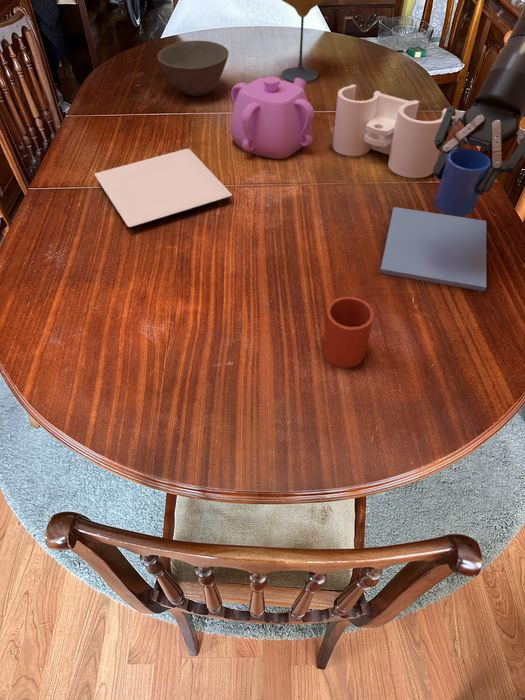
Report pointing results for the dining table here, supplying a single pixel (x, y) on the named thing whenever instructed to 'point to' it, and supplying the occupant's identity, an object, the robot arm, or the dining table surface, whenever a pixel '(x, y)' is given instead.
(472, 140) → the robot arm
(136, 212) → the plate
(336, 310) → the terracotta cup
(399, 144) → the bracket
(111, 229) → the dining table surface
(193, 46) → the bowl
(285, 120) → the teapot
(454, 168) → the blue cup
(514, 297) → the dining table surface
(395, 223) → the blue mat
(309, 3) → the cocktail glass
